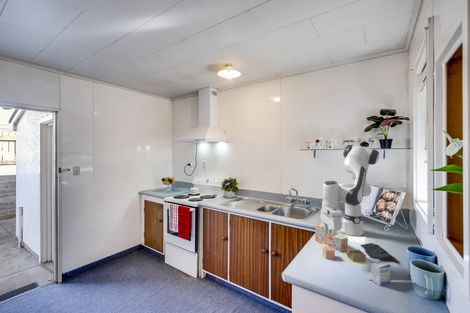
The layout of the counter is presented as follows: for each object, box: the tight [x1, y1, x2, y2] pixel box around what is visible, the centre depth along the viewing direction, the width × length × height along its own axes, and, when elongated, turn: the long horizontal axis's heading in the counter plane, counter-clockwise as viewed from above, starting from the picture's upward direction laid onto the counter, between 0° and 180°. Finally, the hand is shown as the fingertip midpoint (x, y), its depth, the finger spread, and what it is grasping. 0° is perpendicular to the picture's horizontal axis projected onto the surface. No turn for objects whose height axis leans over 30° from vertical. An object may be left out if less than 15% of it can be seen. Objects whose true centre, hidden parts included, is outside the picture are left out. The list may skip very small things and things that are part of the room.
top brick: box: [322, 246, 336, 260], centre depth 128 cm, size 5×5×6 cm
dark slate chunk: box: [360, 242, 400, 264], centre depth 134 cm, size 15×22×5 cm
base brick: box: [346, 248, 367, 262], centre depth 126 cm, size 7×7×4 cm
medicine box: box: [370, 260, 391, 286], centre depth 106 cm, size 8×4×9 cm, turn 114°
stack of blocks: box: [314, 222, 349, 253], centre depth 145 cm, size 21×6×12 cm, turn 24°
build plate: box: [338, 251, 373, 267], centre depth 126 cm, size 16×12×1 cm
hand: (329, 232), depth 127 cm, fingers open, 8 cm apart
